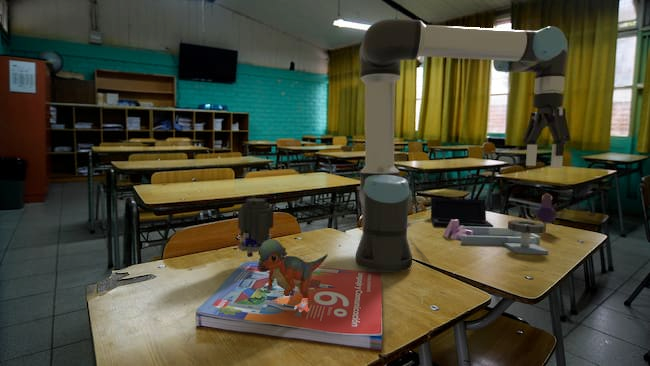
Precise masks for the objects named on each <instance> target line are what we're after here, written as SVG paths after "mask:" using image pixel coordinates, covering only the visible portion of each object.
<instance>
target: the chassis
mask: <svg viewBox="0 0 650 366" xmlns="http://www.w3.org/2000/svg"><path fill="white" fill-rule="evenodd" d="M525 225H528V224H525ZM459 227H460V226H459ZM465 229H466V230H470V231H473V236H471V235H462V236H461V239H460V242H461V243H460V244H461V245H482V246H484V245H486V246H487V245H488V246H489V245H491V246H503V247H505V248H507V249H508V250H510V251H513V252H514V253H515V254H522V255H523V254H527V255H528V254H529V255H549V250H548V249H547V248H546V249H545V248H543V247H541V243H540V242H541V236H540V235H537V234H532V233H522V232H516V231H512V230H510V229H508V227H504V226H503V227H501V226H500V227H498V226H497V227H496V226H493V227H467V226H465Z"/></svg>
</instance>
